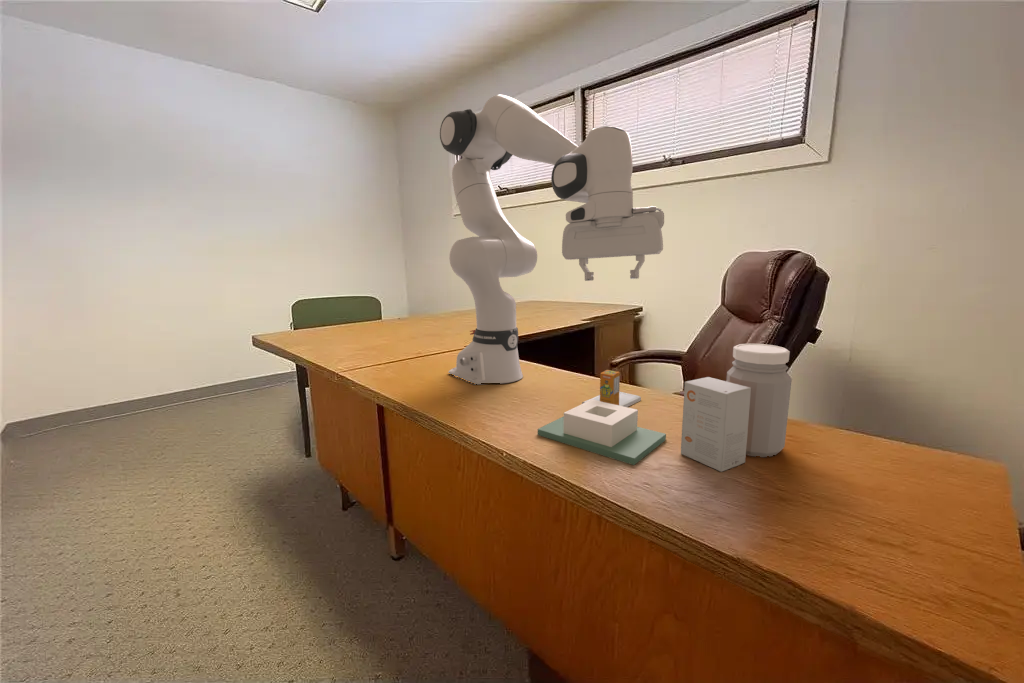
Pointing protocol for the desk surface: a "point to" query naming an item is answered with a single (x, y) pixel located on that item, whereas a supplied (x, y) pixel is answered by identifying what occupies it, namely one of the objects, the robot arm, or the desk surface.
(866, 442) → the desk surface
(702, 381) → the small box
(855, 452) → the desk surface
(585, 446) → the board
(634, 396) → the hard drive
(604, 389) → the supplement box
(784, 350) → the jar
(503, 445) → the desk surface
